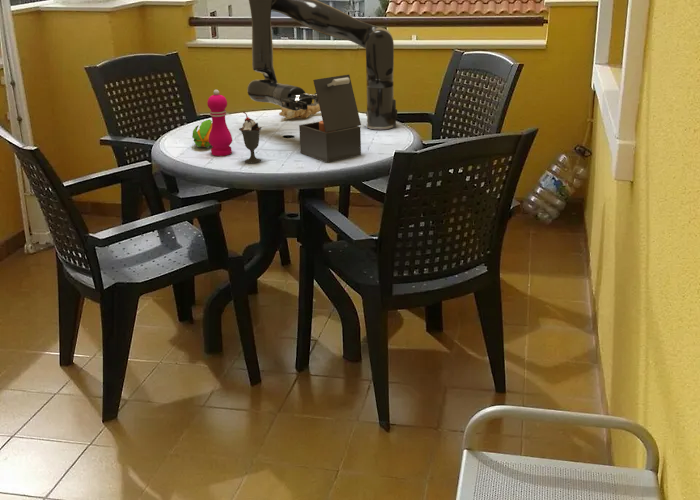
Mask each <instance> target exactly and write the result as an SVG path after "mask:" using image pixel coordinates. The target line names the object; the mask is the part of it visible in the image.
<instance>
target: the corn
mask: <svg viewBox="0 0 700 500" xmlns="http://www.w3.org/2000/svg"><path fill="white" fill-rule="evenodd" d="M211 128H212V119H205V120H203V121H202V122H201V124H200V125H196V126H195V128H194V129H193V130H192V135H191V137H192V139H193V142H194V144H195V146H197V147H198V148H201V147H203V148H209V147H212V146H211V145H210V143H209V134H210V131H211Z"/></svg>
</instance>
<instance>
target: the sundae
mask: <svg viewBox="0 0 700 500" xmlns="http://www.w3.org/2000/svg"><path fill="white" fill-rule="evenodd" d="M243 114H244V115H245V116H246V118H244V122H243V123H242V125H241V127H239V129H238V130H239V131H240V132H241V135H242V139H243V143H244V146H245V148H246V149H248V150H249V152H250V155H249V156H250V157H249V158H248V159H247V158H246V159H245V160H244V162H245V164H258V163H261V162H262V159H261V158H257V157H256V155H255V150H256V149H257V148H258V147H259V144H260V131H261V130H262V128H263V127H262V126H259V123H258V122H256V121H255V120H254V119H252V118H250V117H249V116H248V114H247V113H246V111H243Z"/></svg>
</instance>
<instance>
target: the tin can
mask: <svg viewBox="0 0 700 500" xmlns="http://www.w3.org/2000/svg"><path fill="white" fill-rule="evenodd" d="M318 122H319V131H323V132H325V128H324V124H323V119H322V120H319V121H318ZM335 131H336V130H335ZM330 132H333V131H330ZM326 133H328V132H326Z"/></svg>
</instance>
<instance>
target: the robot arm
mask: <svg viewBox="0 0 700 500" xmlns="http://www.w3.org/2000/svg"><path fill="white" fill-rule="evenodd" d="M248 3H249V8H250V15H251V33H252V34H251V67H252V70H253V71H254V72H256V73H260V74H262V76H263V78H264V79H263V78H261V79H253V80H251V81H250V82H249V83H248V85H247V87H246V90H247V95H248V97H249V98H250V99H251V100H252V101H254V102H256V103H257V102H259V103H268V104H273V105H276V106H278V107H280V106H281V107H283V108H287V109H290V110H294V111H297V110H300V109H303V110H307V106H316V105H317V104H319V103H318V98H317V94H316V92H314V93H308V92H306V91H305V89H303V88H302V87H300V86H296V85H292V84H287V83H281V82H278V79H277V76H276V71H275V67H274V43H273V35H272V34H273V33H272V11H274V12H276V13H279V14H282V15H285V16H287V17H288V18H290V19H292V20H293V21H295V22H296V23H298V24H300V25H302V26H304V27H306V28H308V29H310V30H313V31H314V32H318V33H320V34H322V35H326V36H329V37H332V38H336V39H342V40H346V41H349V42H352V43H354V44H356V45H358V46H360V47H362V48H364V49H365V74H366V78H365V82H366V112H365V116H366V128H368V129H369V130H378V131H382V130H384V131H385V130H389V129H393V128H397V119H398V109H397V106H396V105H397V102H396V101H397V100H396V99H395V98H394V87H395V86H394V69H395V65H394V64H395V61H394V59H395V53H394V52H395V49H394V48H395V43H394V38H393V35H392V34H391V32H390V31H389V30H388V29H387V28H384V27H381V26H377V25H373V24H371V23H367V22H364V21H361V20H359V19H357V18H355V17H353V16H351V15H349V14H347V13H345V12H343V11H342V10H339V9H338V8H335V7H333V6H331V5H329V4H327V3H324V2H322V1H320V0H248ZM281 107H280V108H281Z"/></svg>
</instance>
